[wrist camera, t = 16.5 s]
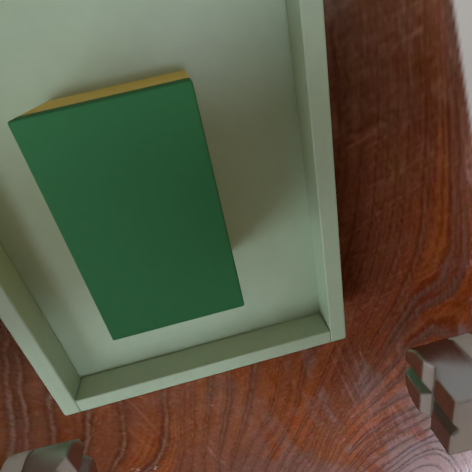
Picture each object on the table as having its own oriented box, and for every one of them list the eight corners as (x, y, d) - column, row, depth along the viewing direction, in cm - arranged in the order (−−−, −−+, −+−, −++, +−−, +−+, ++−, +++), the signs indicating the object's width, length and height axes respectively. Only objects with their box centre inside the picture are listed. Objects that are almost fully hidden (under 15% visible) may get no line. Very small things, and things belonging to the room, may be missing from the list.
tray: (286, -166, 11) (309, -206, 10) (330, 312, 21) (346, 338, 19) (-202, -70, 11) (-277, -93, 9) (74, 382, 20) (65, 416, 18)
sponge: (47, 100, 13) (5, 121, 10) (185, 69, 13) (192, 79, 10) (123, 280, 17) (112, 341, 14) (228, 253, 17) (245, 306, 14)
